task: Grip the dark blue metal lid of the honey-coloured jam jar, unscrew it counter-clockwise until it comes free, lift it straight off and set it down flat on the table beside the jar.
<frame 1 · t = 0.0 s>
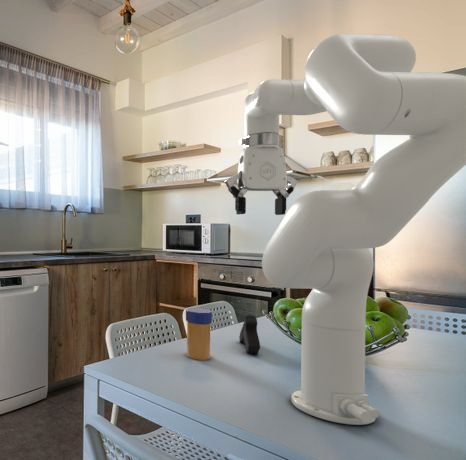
hand: (260, 214, 97), 37 cm above the table, tool pointing down, fingers open, 9 cm apart
jar lid: (198, 311, 104), point 12 cm above the table, screwed on, not yet turned
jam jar: (198, 356, 104), on the table
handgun: (248, 349, 111), on the table
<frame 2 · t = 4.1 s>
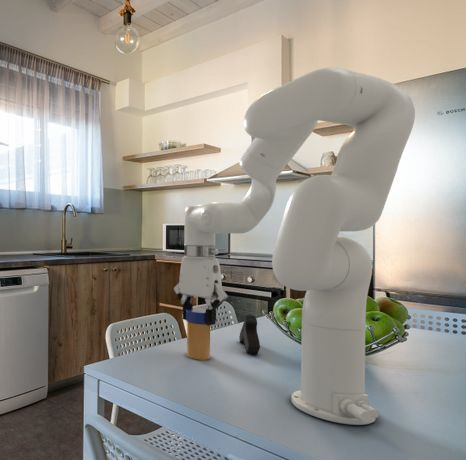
hand: (198, 321, 104), 9 cm above the table, tool pointing down, fingers closed on jar lid, 6 cm apart
jar lid: (198, 311, 104), point 12 cm above the table, screwed on, not yet turned, touching gripper
everything else where it was.
when the fingers open (8 cm above the table, at t = 6.5 s): jar lid stays where it is, point 12 cm above the table.
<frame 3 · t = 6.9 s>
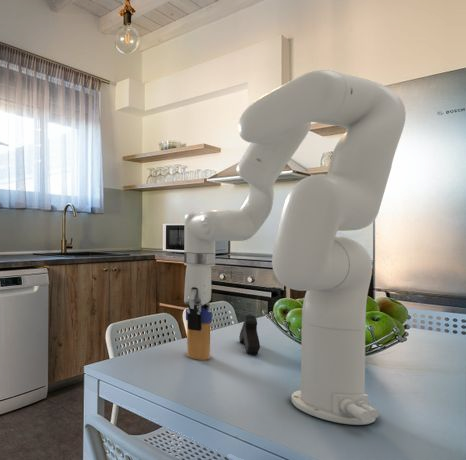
hand: (199, 326, 104), 8 cm above the table, tool pointing down, fingers open, 9 cm apart
jar lid: (198, 311, 104), point 12 cm above the table, turned 117° so far, risen 0.2 cm, still on its thread
everything else where it was.
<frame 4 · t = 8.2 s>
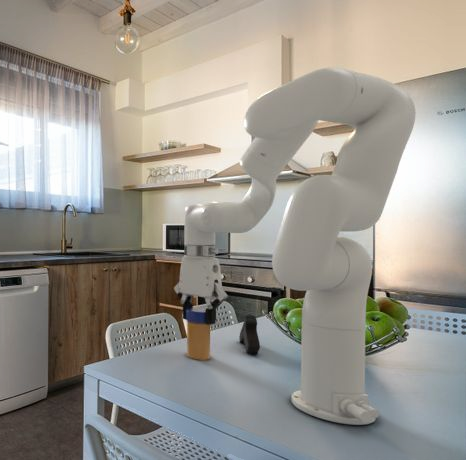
hand: (198, 320, 104), 9 cm above the table, tool pointing down, fingers closed on jar lid, 6 cm apart
jar lid: (198, 311, 104), point 12 cm above the table, turned 117° so far, risen 0.2 cm, still on its thread, touching gripper
everything else where it was.
when the fingers open (8 cm above the table, at t = 10.3 s): jar lid stays where it is, point 12 cm above the table.
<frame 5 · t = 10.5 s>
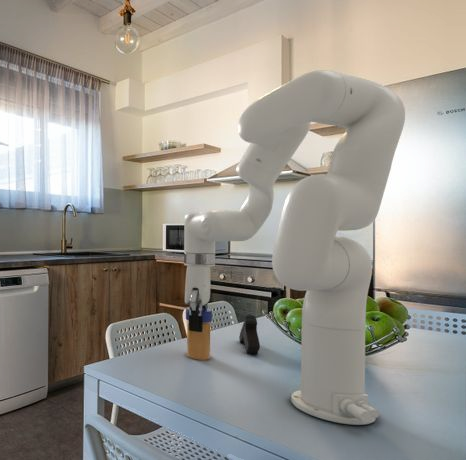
hand: (198, 327, 104), 8 cm above the table, tool pointing down, fingers open, 7 cm apart
jar lid: (198, 310, 104), point 12 cm above the table, turned 235° so far, risen 0.3 cm, still on its thread
everything else where it was.
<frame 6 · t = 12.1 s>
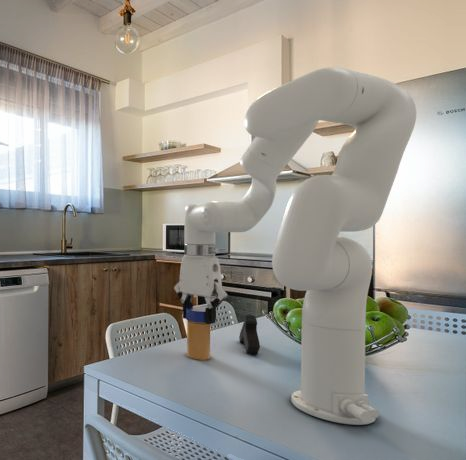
hand: (198, 320, 104), 9 cm above the table, tool pointing down, fingers closed on jar lid, 6 cm apart
jar lid: (198, 310, 104), point 12 cm above the table, turned 235° so far, risen 0.3 cm, still on its thread, touching gripper
everything else where it was.
when the fingers open (0 cm above the table, at t = 23.0 s): jar lid stays where it is, point 2 cm above the table.
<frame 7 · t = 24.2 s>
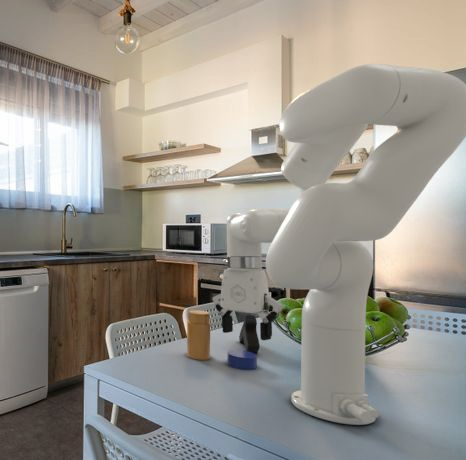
hand: (246, 335, 96), 8 cm above the table, tool pointing down, fingers open, 9 cm apart
jar lid: (241, 355, 97), point 2 cm above the table, off its thread
everything else where it was.
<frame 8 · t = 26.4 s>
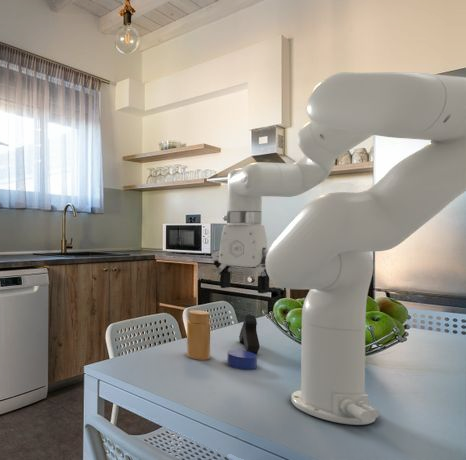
hand: (243, 290, 97), 18 cm above the table, tool pointing down, fingers open, 9 cm apart
nothing on the table moved.
at the end: jar lid came off its thread; jar lid point 2.4 cm above the table; the gripper is holding nothing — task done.
